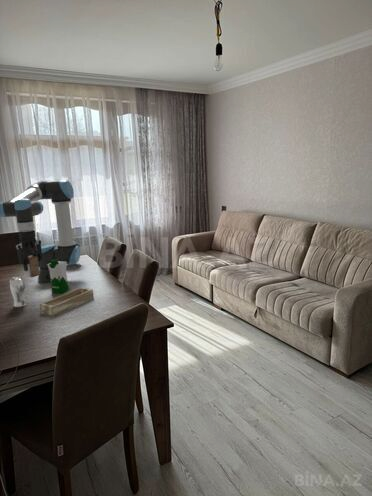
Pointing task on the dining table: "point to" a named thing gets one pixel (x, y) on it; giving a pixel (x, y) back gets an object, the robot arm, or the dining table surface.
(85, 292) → the slot well
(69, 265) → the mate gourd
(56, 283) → the milk carton
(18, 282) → the beer glass
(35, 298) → the dining table surface
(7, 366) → the dining table surface
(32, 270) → the walnut post
